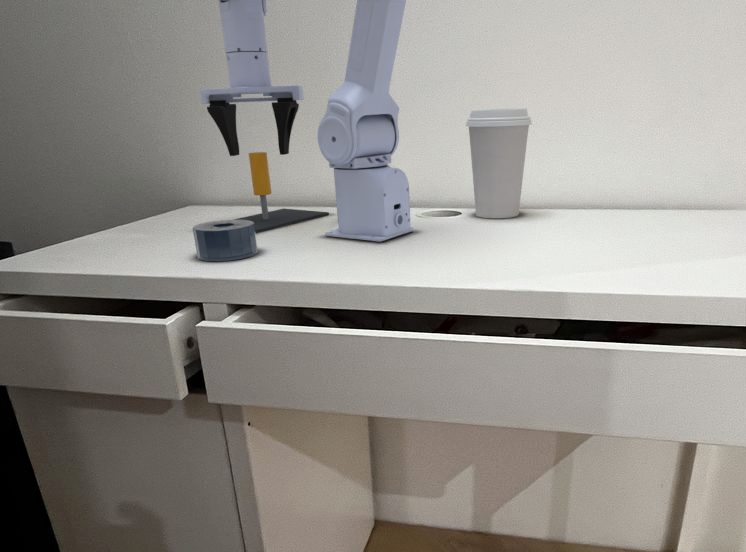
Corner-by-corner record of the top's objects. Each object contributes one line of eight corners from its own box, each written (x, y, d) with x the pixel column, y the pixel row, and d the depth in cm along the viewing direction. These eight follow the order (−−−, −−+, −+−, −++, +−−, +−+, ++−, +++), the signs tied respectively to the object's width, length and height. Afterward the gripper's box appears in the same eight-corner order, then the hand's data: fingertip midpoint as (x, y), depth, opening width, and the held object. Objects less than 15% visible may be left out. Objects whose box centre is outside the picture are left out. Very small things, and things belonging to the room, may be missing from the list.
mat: (329, 214, 100) (328, 212, 100) (244, 235, 86) (243, 233, 86) (283, 210, 105) (283, 208, 105) (196, 230, 91) (196, 227, 91)
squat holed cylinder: (269, 251, 76) (266, 221, 75) (225, 264, 71) (220, 232, 70) (230, 246, 80) (226, 218, 79) (185, 257, 75) (180, 227, 73)
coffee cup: (509, 222, 89) (511, 109, 83) (453, 217, 94) (452, 111, 88) (540, 212, 96) (544, 107, 90) (486, 207, 101) (487, 109, 95)
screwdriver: (277, 219, 95) (269, 152, 91) (261, 221, 94) (253, 153, 90) (269, 217, 97) (261, 151, 93) (254, 219, 96) (245, 153, 92)
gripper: (184, 53, 84) (201, 158, 89) (288, 48, 82) (299, 155, 87) (206, 56, 90) (221, 154, 96) (303, 52, 89) (312, 151, 94)
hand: (259, 154), depth 92 cm, fingers open, 7 cm apart
